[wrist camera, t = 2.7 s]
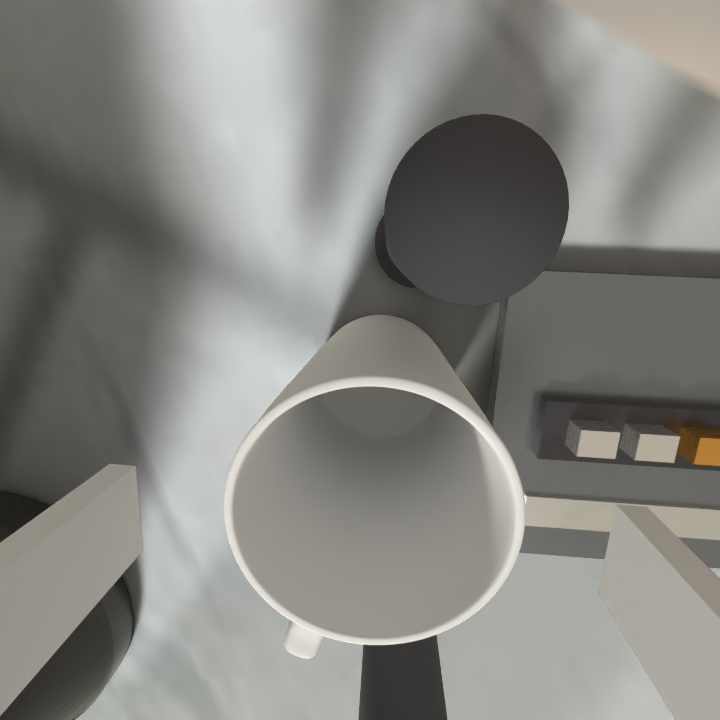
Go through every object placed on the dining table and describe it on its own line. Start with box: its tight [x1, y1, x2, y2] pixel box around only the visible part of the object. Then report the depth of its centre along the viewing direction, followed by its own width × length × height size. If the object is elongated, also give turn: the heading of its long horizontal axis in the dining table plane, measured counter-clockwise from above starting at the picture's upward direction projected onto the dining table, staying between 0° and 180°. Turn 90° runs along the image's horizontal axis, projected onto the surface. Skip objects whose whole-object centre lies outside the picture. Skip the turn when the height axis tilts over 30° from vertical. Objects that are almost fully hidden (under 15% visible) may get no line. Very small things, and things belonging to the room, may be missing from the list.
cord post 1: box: [359, 635, 447, 720], centre depth 17 cm, size 4×4×13 cm
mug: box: [224, 315, 525, 659], centre depth 16 cm, size 10×7×12 cm, turn 157°
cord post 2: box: [375, 114, 569, 306], centre depth 13 cm, size 4×4×13 cm
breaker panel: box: [487, 271, 720, 568], centre depth 19 cm, size 15×14×3 cm
